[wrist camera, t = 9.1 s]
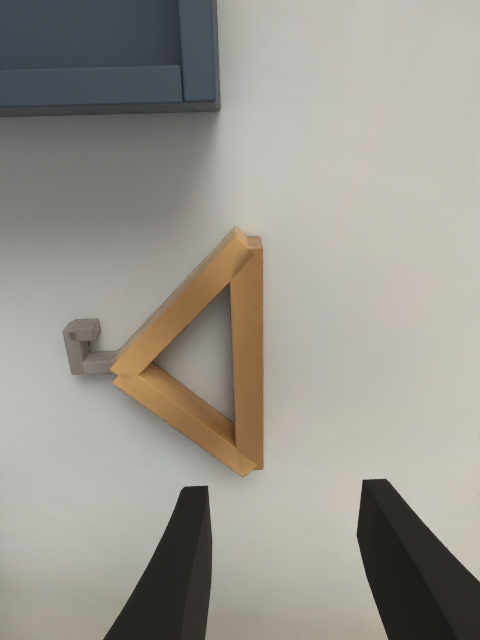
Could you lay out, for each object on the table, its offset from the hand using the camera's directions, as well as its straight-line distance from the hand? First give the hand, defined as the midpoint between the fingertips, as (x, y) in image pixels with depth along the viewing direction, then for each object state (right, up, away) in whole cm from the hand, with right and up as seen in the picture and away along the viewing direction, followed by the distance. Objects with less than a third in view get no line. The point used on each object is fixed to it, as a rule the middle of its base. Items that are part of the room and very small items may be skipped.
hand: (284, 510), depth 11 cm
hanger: (-4, +4, +7) cm, 9 cm away
